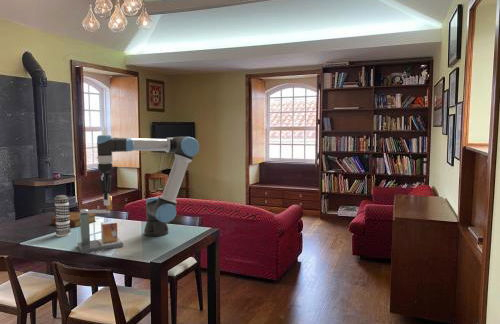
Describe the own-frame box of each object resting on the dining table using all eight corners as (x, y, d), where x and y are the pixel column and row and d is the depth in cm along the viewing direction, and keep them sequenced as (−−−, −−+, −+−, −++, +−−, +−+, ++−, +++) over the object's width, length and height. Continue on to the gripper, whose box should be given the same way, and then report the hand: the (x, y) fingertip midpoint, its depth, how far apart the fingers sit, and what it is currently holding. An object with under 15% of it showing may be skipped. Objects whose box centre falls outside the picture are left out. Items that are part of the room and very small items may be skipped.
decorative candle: (53, 237, 243) (50, 197, 240) (58, 232, 252) (56, 194, 249) (68, 236, 244) (66, 196, 242) (73, 232, 253) (71, 194, 251)
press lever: (79, 214, 219) (78, 197, 218) (81, 212, 223) (80, 196, 222) (111, 213, 221) (110, 196, 220) (113, 211, 225) (112, 195, 224)
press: (116, 240, 235) (115, 209, 233) (123, 246, 222) (121, 213, 221) (77, 246, 224) (75, 213, 222) (81, 253, 211) (79, 218, 209)
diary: (51, 225, 274) (51, 217, 274) (73, 219, 291) (73, 211, 291) (74, 228, 265) (74, 220, 264) (96, 222, 281) (96, 214, 281)
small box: (103, 242, 220) (102, 224, 219) (101, 240, 225) (100, 222, 224) (117, 240, 224) (117, 222, 223) (115, 238, 229) (115, 220, 228)
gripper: (102, 162, 223) (104, 202, 225) (93, 164, 210) (95, 207, 212) (115, 161, 223) (117, 202, 225) (108, 164, 210) (109, 207, 212)
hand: (106, 205), depth 218 cm, fingers closed
